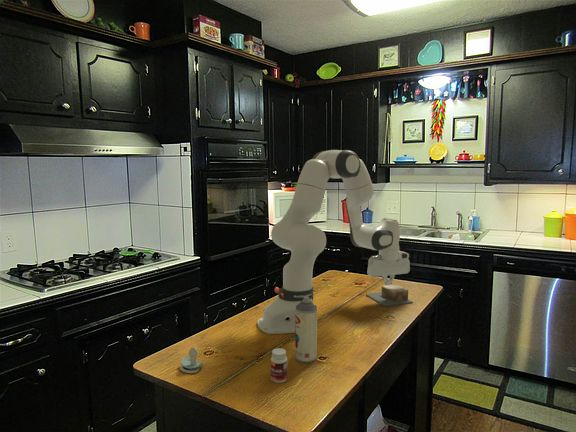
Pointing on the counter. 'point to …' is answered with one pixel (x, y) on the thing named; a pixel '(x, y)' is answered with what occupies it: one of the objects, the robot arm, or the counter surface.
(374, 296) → the rubber mat
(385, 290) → the wooden block
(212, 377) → the counter surface
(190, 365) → the pacifier
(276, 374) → the pill bottle
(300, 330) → the aerosol can
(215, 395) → the counter surface
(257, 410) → the counter surface
